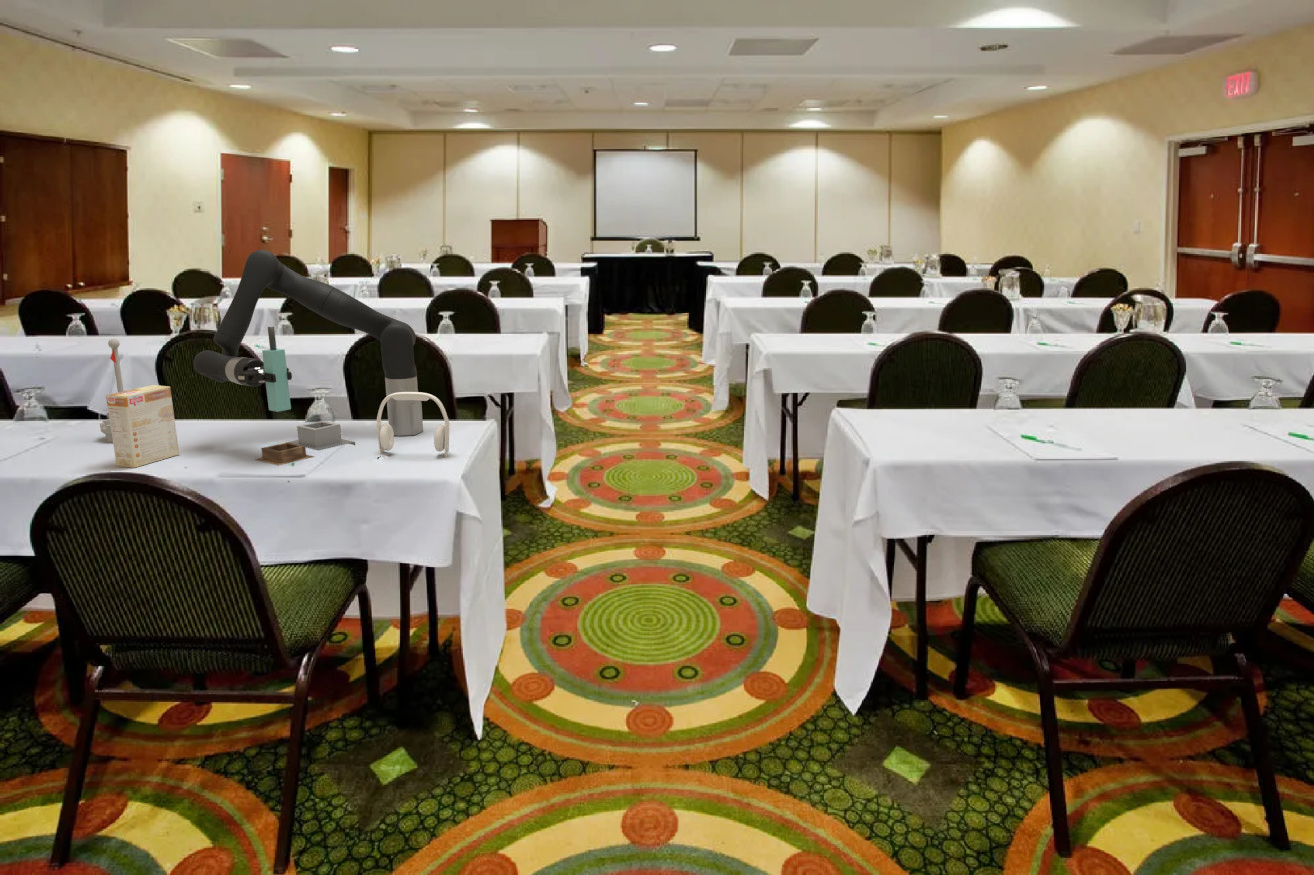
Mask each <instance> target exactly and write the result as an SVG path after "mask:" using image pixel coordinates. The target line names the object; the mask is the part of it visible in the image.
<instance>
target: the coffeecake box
mask: <svg viewBox="0 0 1314 875" xmlns="http://www.w3.org/2000/svg"><path fill="white" fill-rule="evenodd" d="M105 398H106V405H107V412H108V417H109V420H110V425H111V432H112V438H113V442H112V444H113V449H114V457H115V463H116V464H115V465H116V466H117V467H122V468H123V467H124V468H130V469H131V468H132V469H133V468H134V469H135V468H138V467H142V466H145V465H148V464H152V463H156V462H159V461H162V460H165V459H168V458H173V457H176V456H179V455H180V448H179V442H178V435H177V434H178V433H177V428H176V418H175V412H174V405H173V398H172V390H171V386H168V385H167V386H166V385H159V384H153V385H152V384H151V385H147V386H142V387H138V388H132V389H129V390H123V392H118V391H117V392H114V393H108V394H106V395H105Z"/></svg>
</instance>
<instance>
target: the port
mask: <svg viewBox="0 0 1314 875" xmlns="http://www.w3.org/2000/svg"><path fill="white" fill-rule="evenodd" d="M296 429H297V430H296V431H297V439H296V440H295V439H294V440H291V441H287V442H289V443H294V444H298V445H302V446H305V448H306V449H311V450H314V451H322V450H323V451H324V450H327V449H332V448H336V447H339V446H340V447H341V446H343V445H344V446H345V445H348V444H349V445H352V446H353V445H354V446H356V441H354V440H353V441H352V440H347V439H343V438H342V431H341V430H342V429H341V424H340V423H335V422H330V421H326V420H321V421H315V422H310V423H306V424H301V425H297V426H296ZM287 442H285V443H287Z"/></svg>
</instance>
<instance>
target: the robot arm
mask: <svg viewBox="0 0 1314 875" xmlns="http://www.w3.org/2000/svg"><path fill="white" fill-rule="evenodd" d="M266 288H267V289H270V290H272V291H275V292H278V293H280V294H282V295H285V296H286V297H289V298H291V299H292V300H294V301H296V302H298V303H299V304H300V305H301V306H303V307H305V308H307V309H308V310H310V311H312V312H314V313H315V314H318V315H319V316H321V317H323V318H325V319H327V320H329V321H331V322H333V323H335V324H338V325H340V326H343V327H346V328H350V329H352V330H357V331H360V332H363V333H365V334H368V335H369V336H372V337H373V338H375V339H377V341H380V352H381V353H380V354H381V361H382V362H381V363H382V368H383V372H384V381H385V394H386V395H385V396H386V397H387V396H388V395H390V394H393V393H398V392H419V389H418V387H419V386H418V377H417V376H418V373H417V371H418V370H417V367H416V364H415V363H416V362H415V356H414V345H415V344H416V341H417V340H416V339H417V336H416V332H415V331H414V330H415V329H413V327H412V326H410V325H409V324H408V323H406V322H403V321H401V320H398V319H396V318H393V317H390V316H388V315H386V314H384V313H381V312H379V311H377V310H375V309H374V308H372V307H370V306H368V305H367V304H366V303H363V302H362V301H360V300H359V299H357V298H355V297H353V296H352V295H349V294H348V293H346V292H344V291H343V290H341V289H339V288H337V287H335V286H333V285H330V284H328V283H325V282H322V281H319V280H316V279H313V278H310V277H307V276H304V275H301V274H299V273H298V272H296V271H295V270H292V269H291V268H290V267H288V266H287V265H285V264H284V263H282V262H281V261H279V259H278V258H277V257H276V255H275V254H274V253H273V252H271V251H269V250H267V249H258V250H255V251H253V252H251V253H250V254H249V255H248V256H247V258H246V261H245V264H244V268H243V271H242V274H241V278H240V280H239V284H238V287H237V289H236V292H235V294H234V296H233V298H232V300H231V303H230V305H229V307H228V309H227V310H226V312H225V314H224V316H223V317H222V319H221V322H220V323H219V326H218V328H217V330H216V332H215V334H214V336H213V342H214V343H215V344H216V345H218V347H220V348H221V352H222V353H220V352H216V351H213V350H210V349H209V350H206V349H205V350H203V351H200V352H199V353H198V354H196V355H195V357H194V359H193V368H194V370H195V371H196V372H197V373H198V374H200V375H202V376H204V377H207V378H209V379H211V380H213V381H215V382H218V383H224V382H225V383H226V382H228V383H229V382H230V383H235V384H238V385H241V386H242V385H243V386H247V387H253V388H254V387H259V386H262V384H264V383H266V382H272V383H274V382H276V376H275V374H271V373H265V371H264V363H263V361H262V360H261V359H257V358H252V357H247V356H246V357H243V356H239V357H238V353H239V349H240V345H241V344H242V342H243V340H244V339H245V336H246V333H247V332H248V330H249V327H250V325H251V322H252V319H253V316H254V313H255V309H256V306H257V304H258V301H259V299H260V298H261V296H262V293H263V292H264V290H265V289H266ZM287 378H288V381H292V378H293V374H292V372H291V371H290V369H289V367H287ZM386 397H385V398H386ZM386 407H387V408H386V409H387V421H388V422H387V424H389V425H391V427H392V429H393V433H394V437H395V436H396V437H397V436H399V437H406V436H407V437H408V436H416V435H417V434H420V433H421V432H423V431H424V424H423V408H422V407H423V406H422V401H419V400H395V399H393V398H390V399H389V400H388V401H387V402H386Z"/></svg>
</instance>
